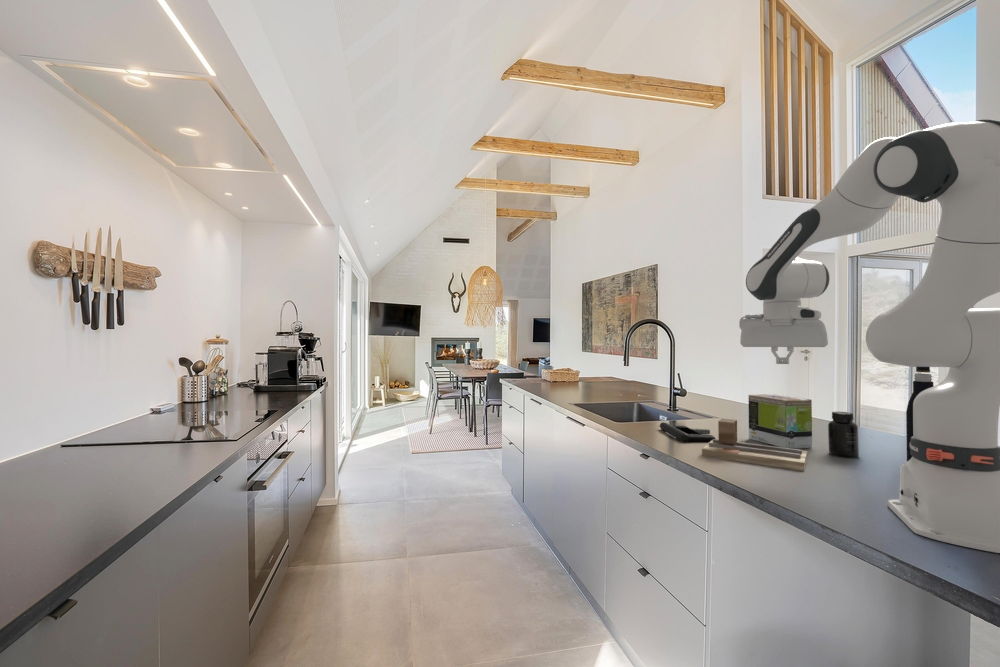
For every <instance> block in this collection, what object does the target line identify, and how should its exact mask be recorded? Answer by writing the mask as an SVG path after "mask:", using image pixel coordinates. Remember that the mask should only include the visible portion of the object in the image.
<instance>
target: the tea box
mask: <svg viewBox="0 0 1000 667" xmlns="http://www.w3.org/2000/svg"><path fill="white" fill-rule="evenodd" d="M812 406H813V402H812V399H810V398H802V397H795V396H788V395H780V394H775V393H768V394H766V393H763V394H748V439H749V440H750V439H751V440H754V441H757V442H761V443H765V444H769V445H770V446H771V445H772V446H774V447H782V448H790V449H806V448H807V449H808V448H812V447H813V414H812V413H813V407H812Z"/></svg>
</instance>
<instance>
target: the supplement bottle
mask: <svg viewBox="0 0 1000 667" xmlns="http://www.w3.org/2000/svg"><path fill="white" fill-rule="evenodd" d="M831 419H832V420H831V421H829V422H828V424H827V434H828V436H827V437H828V438H827V439H828V452H829V454H830V455H831V454H832V456H835V457H839V458H846V459H847V458H848V459H851V458H852V459H853V458H857V457H859V456H860V448H859V446H860V444H859V443H860V442H859V441H860V440H859V426H858V424H857V423H855V422H853V421H854V413H852V412H847V411H832V412H831Z"/></svg>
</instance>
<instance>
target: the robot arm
mask: <svg viewBox="0 0 1000 667" xmlns="http://www.w3.org/2000/svg"><path fill="white" fill-rule="evenodd" d="M900 197H906V198H909V199H911V200H913V201H916V202H919V203H923V204H924V203H929V202H931V201H933V200H936V201H937V202H938V203H939V206H940V208H941V214H940V215H941V216H940V220H939V224H938V228H937V232H936V235H935V238H934V243H933V247H932V251H931V253H930V257H929V259H928V264H927V267H926V269H925V272H924V274H923V276H922V278H921V280H920V281H919V283H918V284H917V286H915V287H914V289H913V290H912V291H911V293H909V294H908V295H907V296H906V297H905V298H904V299H903V300H902V301H901V302H899V303H898V304H896V305H895V306H894V307H892V308H890V309H889V310H887V311H885V312H882V313H881V314H878V315H877V316H876V317H875V318H874V319H872V320H871V322H870V323H869V325H868V327H867V329H866V332H865V343H866V346H867V348H868V351H869V352H870V354H871V355H872V356H873V357H874V358H875V359H877V360H878V361H879V362H881V363H887V364H891V365H897V366H903V367H904V366H905V367H911V368H912V367H913V368H916V367H930V368H949V369H948V372H947V375H946V376H945V378H944V379H943V380H942V381H941V382H940V383H939V384H937V385H934V387H931V388H928V389H926V390H924V391H922V392H921V393H919V394H918V395H917V396H916V398H915V399H914V402H913V436H912V437H911V440H910V454H911V455H912V458H911V459H910V460H909V461H908V462H907V461H906V462H904V463H903V464H901V465H900V468H899V470H900V471H899V497H898V498H899V499H888V500H887V507H888V508H889V509H890V510H891V511H892V512H893V513H894V514H895V515H896V516H897V517H898V518H899V519H900V520H901V521H902V522H903V523H904V524H905V525H906V526H907V527H908V528H909V529H910V530H911V531H912V532H913V533H915V534H916V535H920V536H922V537H926V538H928V539H932V540H936V541H939V542H943V543H947V544H952V545H956V546H960V547H965V548H971V549H974V550H980V551H985V552H990V553H995V554H1000V446H999V442H998V441H999V440H998V439H999V435H998V434H999V417H1000V307H979V308H978V307H975V308H974V307H973V306H975V305H977V304H978V303H979V302H981V301H982V300H984V299H986V298H989V297H991V296H993V295H995V294H998V293H1000V120H998V119H978V120H974V121H967V122H949V123H944V124H940V125H935V126H933V127H928V128H925V129H918V130H914V131H910V132H907V133H905V134H902V135H901V136H898V137H896V136H893V137H892V136H889V137H887V136H886V137H883V138H878V139H877V140H874V141H873V142H871V143H869V145H867V146H866V147H865V148H864V150H862V151H861V153H860V154H858V155H857V157H856V158H855V159H854V160H853V162H851V164H850V165H849V166H848V167H847V169H846V170H845V171H844V173H843V174H842V176H841V177H840V178H839V180H838V181H837V183H836V184H835V185H834V187H833V188H832V189H831V190H830V192H828V194H826V196H825V197H823V198H822V199H821V200H819V202H817V203H816V204H814V205H813V206H812V207H809V209H807V210H805V211H804V212H802V213H801V214H800V215H798V216H797V217H796V218H795V219H794V221H792V223H791V224H790V225H789V227H787V228H786V230H785V231H784V232H783V233H782V234H781V235H780V237H779V238H778V239H777V240H776V242H774V243H773V245H772V246H771V247H770V248H769V250H768V251H767V252H766V253H765V255H764V256H762V257H761V258H760V259H759V260H757V261H756V262H755V263H754V264H753V265H752V266H751V267H750V268H749V270H748V272H747V274H746V277H745V287H746V289H747V290H748V292H749V293H750V294H751V295H752V296H753V297H754V298H755V299H757V300H759V301H763V302H762V311H763V312H762V313H760V314H759V313H758V314H746V315H744V316H742V317H740V319H739V321H738V322H739V324H738V325H739V329H740V330H741V333H740V345H741V346H742V347H744V348H770V350H771V353H772V354H773V356H774V357H775V364H777V365H790V357H791V356H792V355H793V353H794V352H795V351H794V350H795V349H794V348H825V347H827V346H828V345H829V341H828V340H829V339H828V338H829V337H828V332H827V328H826V325H825V323H824V322H823V321H822V320H821V318H822V311H820V310H818V309H813V308H809V307H804V306H802V302H801V301H802V300H801V299H813V298H817V297H820V296H821V295H822V294H824V293H825V291H827V289H828V287H829V284H830V272H829V269H828V268H827V266H826V265H825V264H824V263H823V262H821V261H817V260H809V259H804V258H801V257H799V256H800V254H801V253H802V252H803V251H805V250H806V249H807V248H808V247H810V246H812V245H814V244H818V243H819V242H823V241H826V240H830V239H834V238H839V237H844V236H848V235H853V234H858V233H861V232H864V231H866V230H869V229H870V228H871V227H873V226H875V225H876V224H877V223H878V222H879V221H880V220H882V219H883V218H884V217H885V216H886V215H887V213H888V212H889V211H890V210H891V208H892V207H893V206H894V205H895V204H896V202H898V200H899V199H900ZM779 348H786V351H787V352H788V354H787V355H786V356H784V357H781V356H779V355H778V353H777V352H778V351H779Z"/></svg>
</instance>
